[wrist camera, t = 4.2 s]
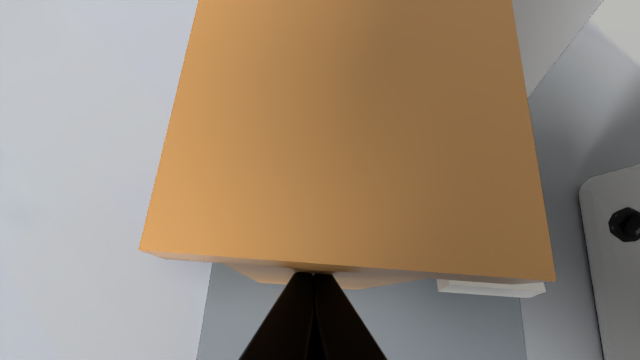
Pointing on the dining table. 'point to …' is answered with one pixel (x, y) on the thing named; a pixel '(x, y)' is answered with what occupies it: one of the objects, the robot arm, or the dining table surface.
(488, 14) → the slider knob
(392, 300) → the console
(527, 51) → the toggle lever
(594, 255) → the electrical switch
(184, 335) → the dining table surface
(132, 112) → the dining table surface
